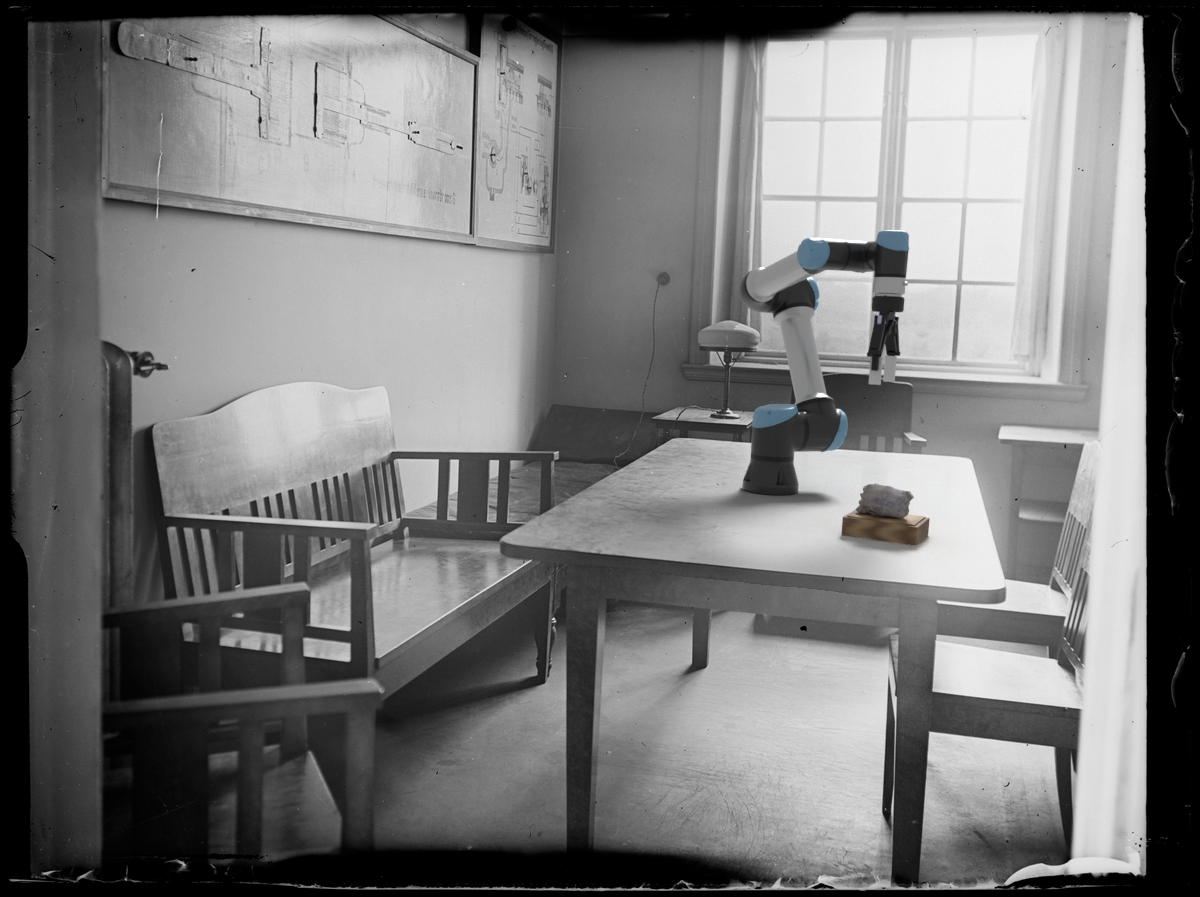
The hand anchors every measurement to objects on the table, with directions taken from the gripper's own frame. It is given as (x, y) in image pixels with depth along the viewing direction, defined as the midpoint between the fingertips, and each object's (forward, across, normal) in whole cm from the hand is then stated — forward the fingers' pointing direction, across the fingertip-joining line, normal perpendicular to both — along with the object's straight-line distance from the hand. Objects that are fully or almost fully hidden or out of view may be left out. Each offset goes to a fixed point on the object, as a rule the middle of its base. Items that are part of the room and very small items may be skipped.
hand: (881, 383), depth 235 cm
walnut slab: (+32, -27, -10) cm, 43 cm away
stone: (+28, -27, -9) cm, 40 cm away
